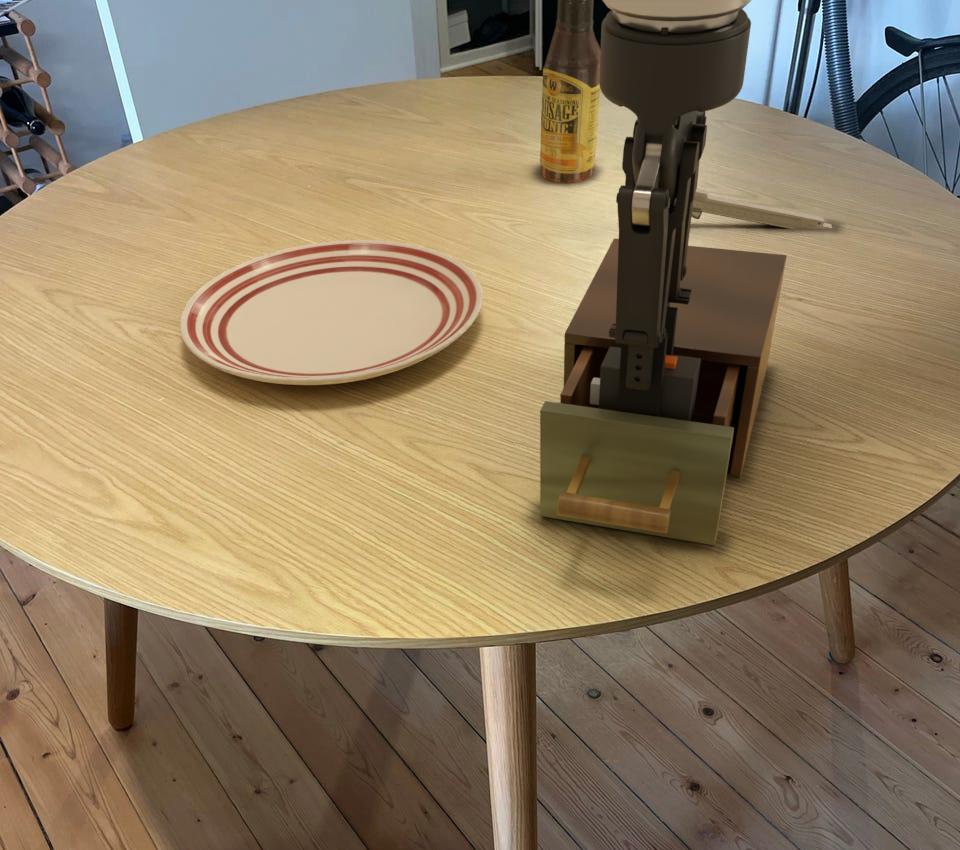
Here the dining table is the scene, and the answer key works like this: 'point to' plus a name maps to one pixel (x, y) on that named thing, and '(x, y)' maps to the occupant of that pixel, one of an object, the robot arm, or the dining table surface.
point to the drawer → (639, 457)
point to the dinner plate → (331, 312)
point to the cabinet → (701, 321)
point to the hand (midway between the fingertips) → (642, 409)
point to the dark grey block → (675, 389)
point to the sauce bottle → (570, 95)
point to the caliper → (754, 212)
